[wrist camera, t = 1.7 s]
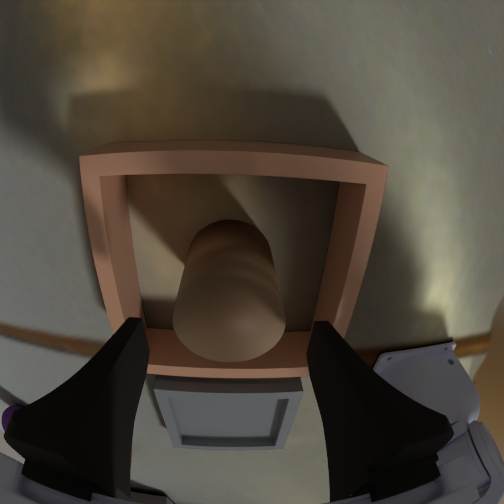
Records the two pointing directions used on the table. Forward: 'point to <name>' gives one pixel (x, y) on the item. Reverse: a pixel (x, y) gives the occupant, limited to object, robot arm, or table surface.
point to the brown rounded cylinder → (229, 294)
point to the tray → (228, 411)
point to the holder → (238, 163)
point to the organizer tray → (149, 499)
